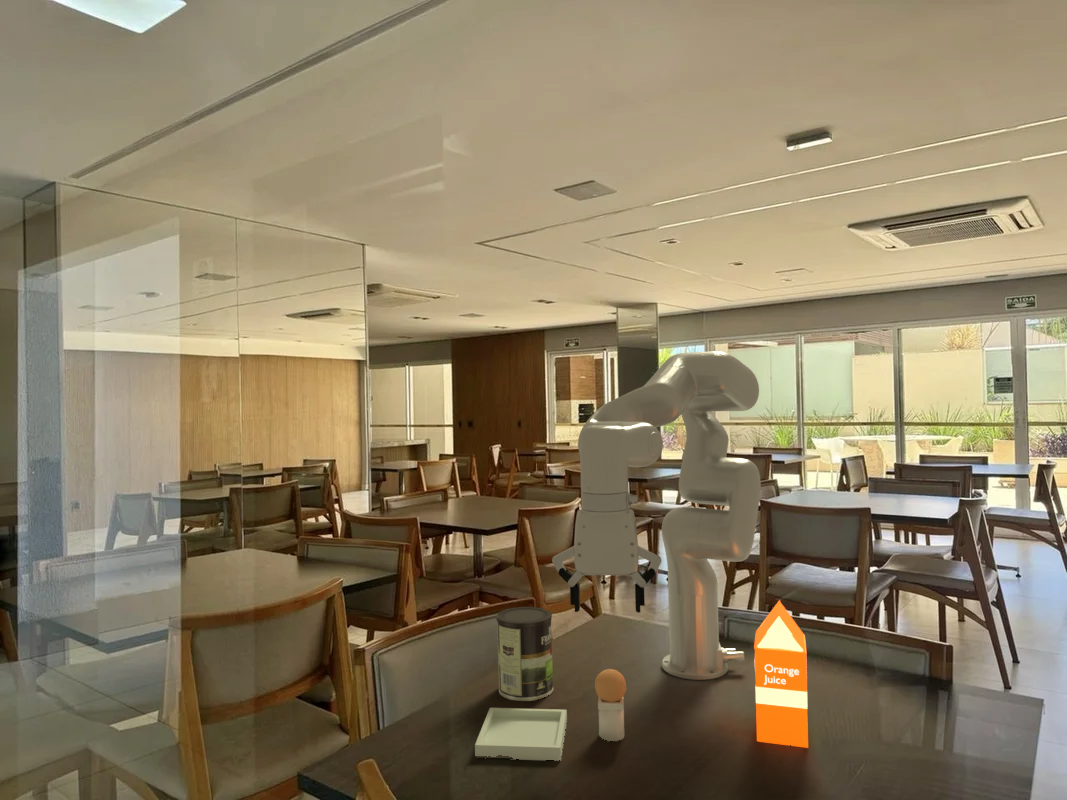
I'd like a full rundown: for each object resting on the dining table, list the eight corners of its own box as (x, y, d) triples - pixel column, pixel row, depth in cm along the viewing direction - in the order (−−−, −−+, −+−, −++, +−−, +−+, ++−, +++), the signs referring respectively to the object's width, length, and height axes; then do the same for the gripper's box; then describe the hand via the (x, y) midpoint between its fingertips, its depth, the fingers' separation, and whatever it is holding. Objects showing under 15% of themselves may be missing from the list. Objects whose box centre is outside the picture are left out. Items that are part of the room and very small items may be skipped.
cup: (624, 730, 118) (623, 693, 118) (624, 741, 114) (623, 703, 114) (599, 729, 118) (598, 692, 118) (598, 741, 114) (597, 703, 114)
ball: (626, 695, 118) (625, 664, 118) (626, 708, 113) (626, 676, 113) (595, 694, 119) (594, 663, 119) (594, 707, 114) (593, 675, 114)
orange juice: (807, 722, 119) (804, 601, 118) (809, 748, 110) (806, 617, 110) (757, 717, 121) (754, 597, 121) (755, 741, 113) (752, 613, 113)
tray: (566, 721, 121) (566, 709, 121) (560, 760, 108) (560, 747, 108) (490, 719, 123) (489, 707, 123) (475, 758, 110) (474, 744, 110)
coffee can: (557, 680, 139) (556, 607, 138) (548, 703, 129) (546, 624, 128) (505, 677, 141) (503, 605, 141) (491, 700, 131) (489, 622, 130)
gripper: (658, 498, 118) (661, 603, 118) (553, 499, 120) (555, 602, 120) (661, 506, 111) (663, 617, 111) (548, 506, 113) (551, 616, 113)
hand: (607, 609), depth 116 cm, fingers open, 9 cm apart
